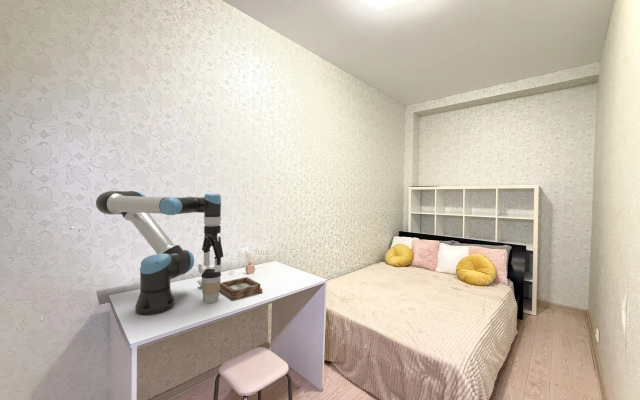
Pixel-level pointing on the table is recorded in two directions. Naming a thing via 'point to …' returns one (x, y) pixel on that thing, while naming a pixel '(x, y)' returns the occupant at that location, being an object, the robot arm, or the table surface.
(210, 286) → the coffee cup
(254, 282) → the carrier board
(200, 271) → the figurine
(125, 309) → the table surface
